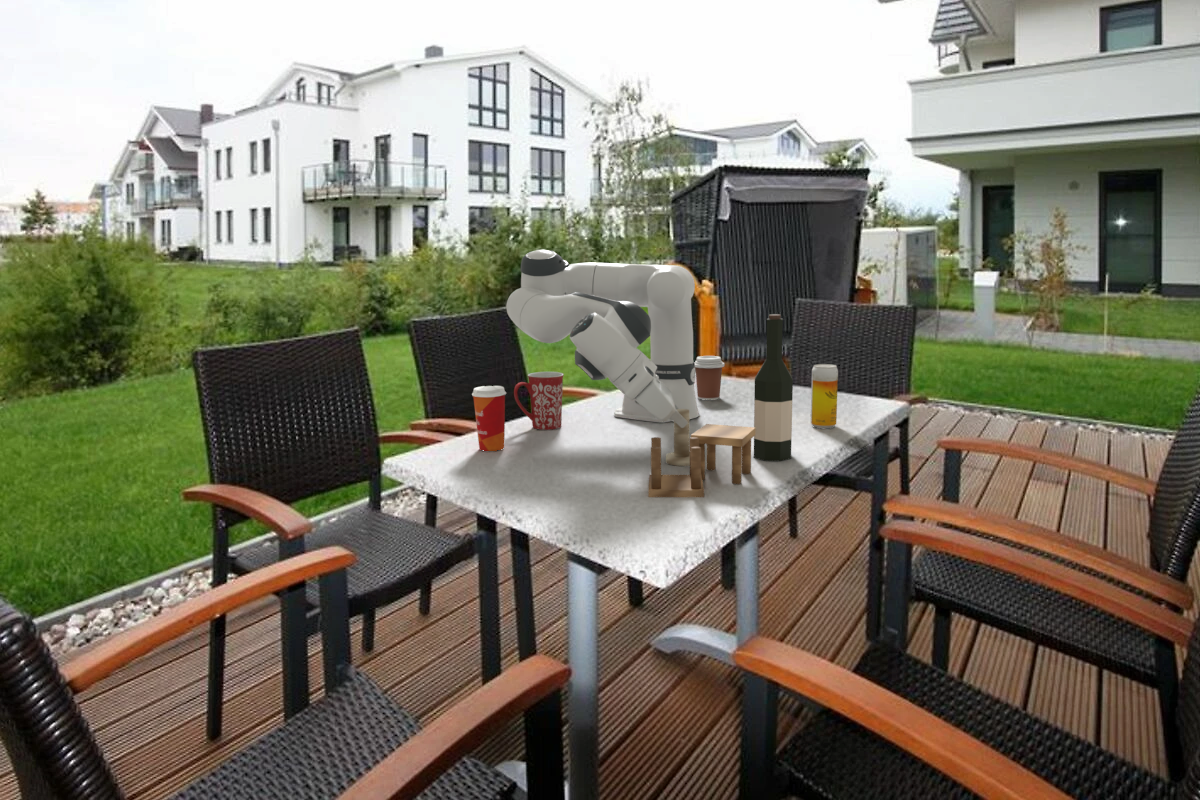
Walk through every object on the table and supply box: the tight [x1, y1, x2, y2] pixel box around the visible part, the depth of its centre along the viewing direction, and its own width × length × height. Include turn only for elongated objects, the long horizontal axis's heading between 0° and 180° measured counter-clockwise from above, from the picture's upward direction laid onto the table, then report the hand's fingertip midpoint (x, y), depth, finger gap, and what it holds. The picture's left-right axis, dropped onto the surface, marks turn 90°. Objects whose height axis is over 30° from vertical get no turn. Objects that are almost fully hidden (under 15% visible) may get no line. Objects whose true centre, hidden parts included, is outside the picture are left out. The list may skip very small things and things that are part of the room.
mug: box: [513, 371, 564, 431], centre depth 203 cm, size 13×9×14 cm
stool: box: [690, 423, 756, 485], centre depth 158 cm, size 10×10×9 cm
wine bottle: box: [753, 313, 794, 462], centre depth 169 cm, size 8×8×30 cm
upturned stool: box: [647, 436, 705, 498], centre depth 150 cm, size 10×10×9 cm
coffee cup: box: [693, 355, 725, 401], centre depth 235 cm, size 9×9×12 cm
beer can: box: [810, 363, 839, 429], centre depth 196 cm, size 6×6×15 cm
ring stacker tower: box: [665, 409, 690, 467], centre depth 168 cm, size 7×7×11 cm
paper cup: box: [471, 385, 507, 452], centre depth 182 cm, size 8×8×14 cm
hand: (684, 422), depth 168 cm, fingers closed on ring stacker tower, 3 cm apart
